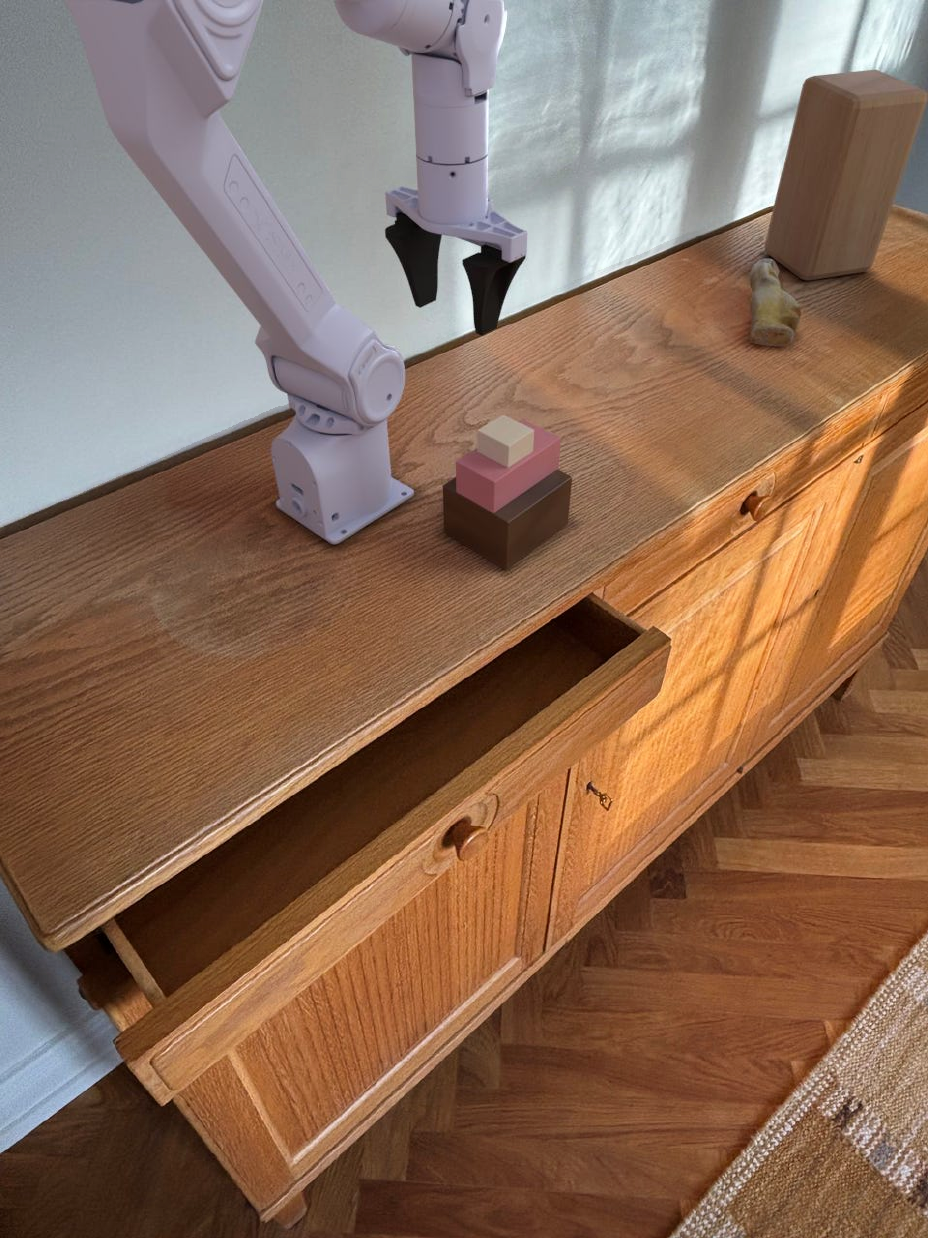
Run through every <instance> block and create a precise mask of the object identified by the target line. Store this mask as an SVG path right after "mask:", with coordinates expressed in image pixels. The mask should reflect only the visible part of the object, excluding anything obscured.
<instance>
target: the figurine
mask: <svg viewBox="0 0 928 1238" xmlns="http://www.w3.org/2000/svg"><path fill="white" fill-rule="evenodd" d="M780 272H781V269H779V267H778V264H777V263H776V260H775V259H772V258H766V257H765V258H762V259H759V260H758V261H756V262H755V264H754V265H753V266H752V267H751V271H750V274H749V286H750V290H751V292H752V296H751V299H750V302H749V309H750V318H751V325H750V331H749V338H748V339H749V342H750V343H752V344H755V345H760V346H767V347H786V346H789V345H790V344H791V343H792V342H793V340H794V338H795V335H796V334H797V331H798V329H799V326H800V323H801V317H802V308H801V306H800V305H799V303H798V302H797V301H796V299H795V298H794V297H793V296H792V295H791V294H789V293H788V292H786V291H785V290H783V289H782V285H781V281H780V279H779V274H780Z"/></svg>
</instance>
